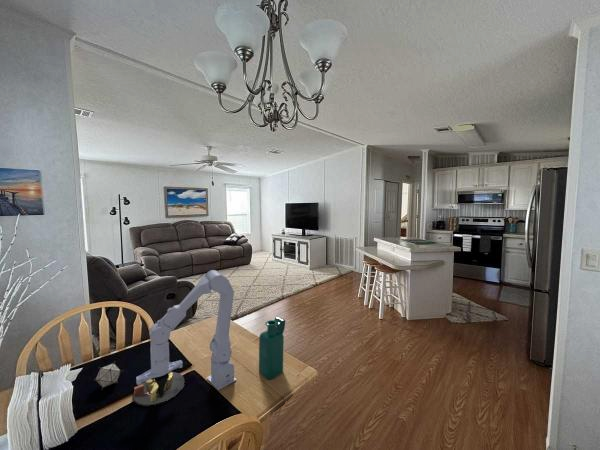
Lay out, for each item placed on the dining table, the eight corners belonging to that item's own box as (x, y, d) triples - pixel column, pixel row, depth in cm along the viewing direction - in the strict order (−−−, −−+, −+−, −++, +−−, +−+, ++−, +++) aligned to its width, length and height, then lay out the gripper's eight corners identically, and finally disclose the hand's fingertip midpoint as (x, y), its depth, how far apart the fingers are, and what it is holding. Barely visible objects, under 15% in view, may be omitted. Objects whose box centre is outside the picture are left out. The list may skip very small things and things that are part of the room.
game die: (111, 390, 102) (123, 362, 107) (117, 392, 96) (130, 362, 102) (85, 388, 97) (99, 358, 102) (90, 390, 91) (105, 359, 97)
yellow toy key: (166, 399, 91) (166, 389, 91) (139, 403, 89) (139, 392, 89) (174, 376, 103) (174, 367, 103) (150, 379, 101) (150, 370, 101)
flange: (192, 388, 98) (191, 376, 98) (141, 414, 86) (141, 400, 86) (174, 368, 110) (174, 357, 110) (127, 388, 98) (127, 376, 97)
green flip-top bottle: (269, 381, 104) (270, 328, 102) (256, 371, 109) (257, 321, 108) (287, 370, 111) (288, 321, 109) (274, 362, 116) (275, 314, 115)
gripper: (177, 345, 99) (178, 379, 100) (133, 360, 89) (135, 397, 90) (184, 353, 94) (185, 388, 95) (138, 370, 84) (139, 409, 85)
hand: (161, 393), depth 92 cm, fingers closed, pressing on yellow toy key
